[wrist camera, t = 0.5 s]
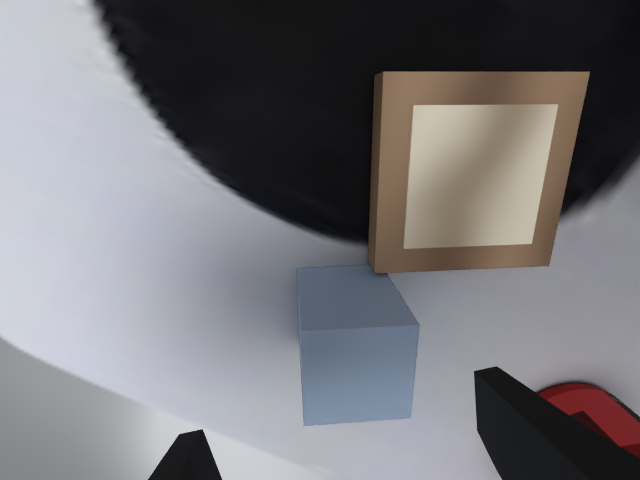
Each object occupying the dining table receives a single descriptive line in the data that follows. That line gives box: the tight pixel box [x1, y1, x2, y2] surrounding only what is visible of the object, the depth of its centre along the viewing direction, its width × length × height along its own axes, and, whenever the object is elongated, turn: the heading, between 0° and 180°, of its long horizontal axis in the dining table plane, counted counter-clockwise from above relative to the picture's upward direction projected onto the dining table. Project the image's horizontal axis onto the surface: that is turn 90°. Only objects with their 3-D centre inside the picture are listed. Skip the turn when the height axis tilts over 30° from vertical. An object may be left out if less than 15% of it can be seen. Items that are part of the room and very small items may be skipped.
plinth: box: [368, 72, 590, 273], centre depth 17 cm, size 9×9×2 cm
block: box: [297, 265, 419, 426], centre depth 17 cm, size 4×4×6 cm
